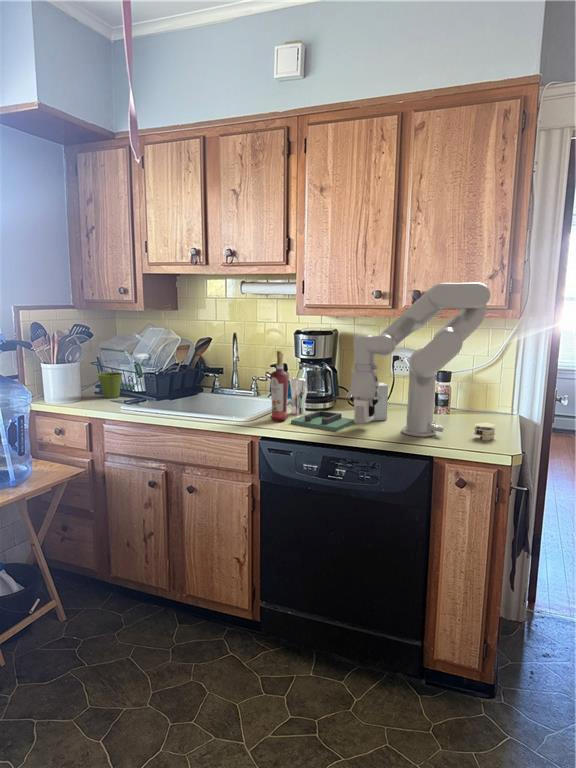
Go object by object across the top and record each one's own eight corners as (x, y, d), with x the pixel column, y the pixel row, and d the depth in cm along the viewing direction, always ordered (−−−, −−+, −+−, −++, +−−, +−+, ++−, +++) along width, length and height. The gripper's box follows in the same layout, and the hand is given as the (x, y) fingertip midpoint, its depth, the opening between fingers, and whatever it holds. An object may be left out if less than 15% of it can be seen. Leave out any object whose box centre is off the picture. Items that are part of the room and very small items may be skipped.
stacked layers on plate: (481, 434, 197) (482, 420, 196) (503, 440, 189) (504, 425, 188) (464, 438, 191) (466, 424, 190) (486, 444, 184) (487, 429, 183)
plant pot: (116, 393, 261) (115, 371, 259) (128, 397, 253) (127, 374, 251) (93, 396, 252) (92, 373, 251) (105, 400, 244) (104, 376, 243)
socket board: (354, 423, 210) (355, 414, 209) (336, 431, 196) (336, 422, 196) (311, 416, 220) (311, 407, 220) (291, 423, 207) (291, 415, 206)
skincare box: (381, 417, 220) (383, 382, 218) (387, 420, 215) (389, 384, 212) (362, 417, 219) (364, 382, 216) (367, 421, 213) (369, 385, 210)
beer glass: (288, 412, 227) (288, 377, 224) (302, 411, 229) (303, 377, 227) (293, 415, 220) (294, 380, 218) (309, 414, 223) (310, 379, 220)
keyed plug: (374, 418, 201) (374, 398, 200) (364, 423, 194) (364, 402, 193) (362, 417, 204) (362, 397, 203) (352, 421, 197) (352, 401, 196)
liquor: (291, 420, 213) (293, 351, 208) (280, 423, 207) (281, 352, 202) (278, 417, 217) (278, 349, 213) (266, 420, 212) (266, 351, 207)
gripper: (389, 367, 195) (389, 415, 198) (348, 365, 204) (348, 411, 207) (381, 370, 189) (381, 419, 192) (339, 368, 198) (339, 415, 201)
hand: (364, 414), depth 199 cm, fingers closed on keyed plug, 4 cm apart
